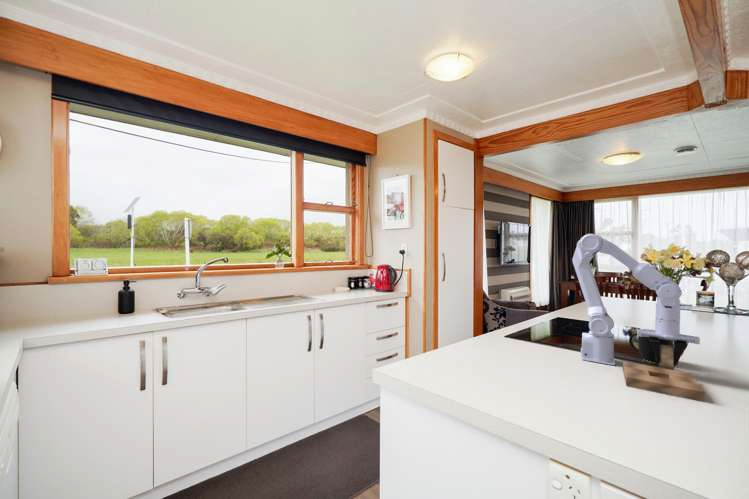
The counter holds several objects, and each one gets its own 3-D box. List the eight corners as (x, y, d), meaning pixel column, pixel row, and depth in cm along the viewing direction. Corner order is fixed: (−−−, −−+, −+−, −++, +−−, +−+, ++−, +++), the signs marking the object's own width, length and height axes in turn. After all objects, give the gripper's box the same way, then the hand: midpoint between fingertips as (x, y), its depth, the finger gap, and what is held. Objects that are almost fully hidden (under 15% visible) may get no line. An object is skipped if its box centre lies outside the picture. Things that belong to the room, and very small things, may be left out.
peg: (659, 374, 103) (659, 346, 103) (657, 370, 106) (658, 344, 106) (675, 376, 101) (675, 349, 101) (672, 373, 104) (673, 346, 104)
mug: (675, 363, 114) (676, 334, 114) (662, 367, 110) (663, 336, 110) (635, 353, 124) (636, 326, 124) (622, 356, 120) (623, 328, 120)
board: (626, 385, 93) (626, 377, 93) (623, 369, 107) (623, 361, 107) (704, 401, 84) (705, 392, 84) (690, 381, 98) (690, 373, 98)
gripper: (639, 318, 104) (638, 361, 104) (702, 325, 96) (701, 371, 96) (637, 314, 110) (636, 355, 110) (697, 321, 102) (695, 365, 102)
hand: (666, 362), depth 104 cm, fingers closed on peg, 4 cm apart
